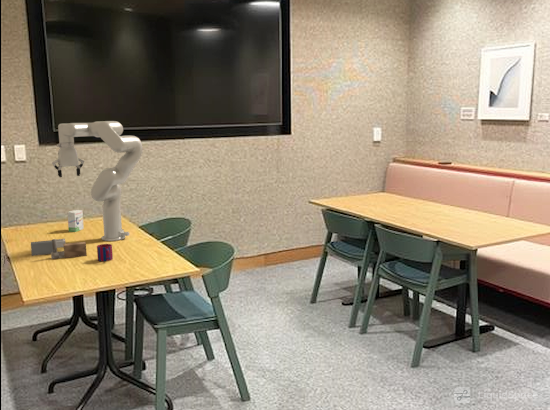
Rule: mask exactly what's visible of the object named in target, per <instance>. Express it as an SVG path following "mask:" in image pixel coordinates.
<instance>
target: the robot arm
mask: <svg viewBox="0 0 550 410" xmlns="http://www.w3.org/2000/svg"><path fill="white" fill-rule="evenodd" d="M57 125H58V126H57V128H58V129H57V130H58V142H59V143H58V144H56V147H57V148H58V147H59V148H58V151H57V152H58V153H57V159H56V160H54V161H52V162H51V164H52V166H53V168H54V169H56V170H57V176H58V177H59V178H63V174H62V168H63V167H64V168H65V167H67V168H68V167H76V169H75V170H76V176H78V177H80V175H81V169H82V167H83V166H84V164H85V160H83V159H81V158H79V156H78V151H77V148H76V147H75V138H78V137H95V138H100V139H101V140H102V141H103V142H104V144H106V145H107V146H108V147H109V148H110V149H111V150H112V151H113V152H114V153H119V154H120V153H124V154H123V155H122V156H121V157H120V158H119V159H118V162H117V163H116V165H115V166H111V167H108V168H104V169H103V170H102V171H101V172H100V173H99V175H98V176H97V178H96V179H95V181H94V183H93V185H92V187H91V188H90V189H91V190H90V196H91V198H92V200H93V201H95V202H103V203H102V220H103V235H102V236H101V240H102V241H105V242H112V241H113V242H115V241H121V240H124V239H125V238H126V237H127V236H128V237H129V236H130V232H129V231H125V229H122V228H123V227H122V211H121V210H122V208H121V207H122V206H121V204H122V203H121V199H122V187H121V185H122V184H125V182H126V181H127V180H128V179H129V176H130V175H131V173H132V172H133V170H134V168H135V167H136V165H137V164H138V163H139V161H140V159H141V157H142V154H143V149H144V147H143V143H142V141H141V139H140V138H139V137H138V136H135V135H122V134H123V132H124V126H123V125H122V124H121V123H120V122H119V121H116V120H105V121H103V120H102V121H100V120H99V121H93V122H70V123H59V124H57ZM57 163H58V165H57Z"/></svg>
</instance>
